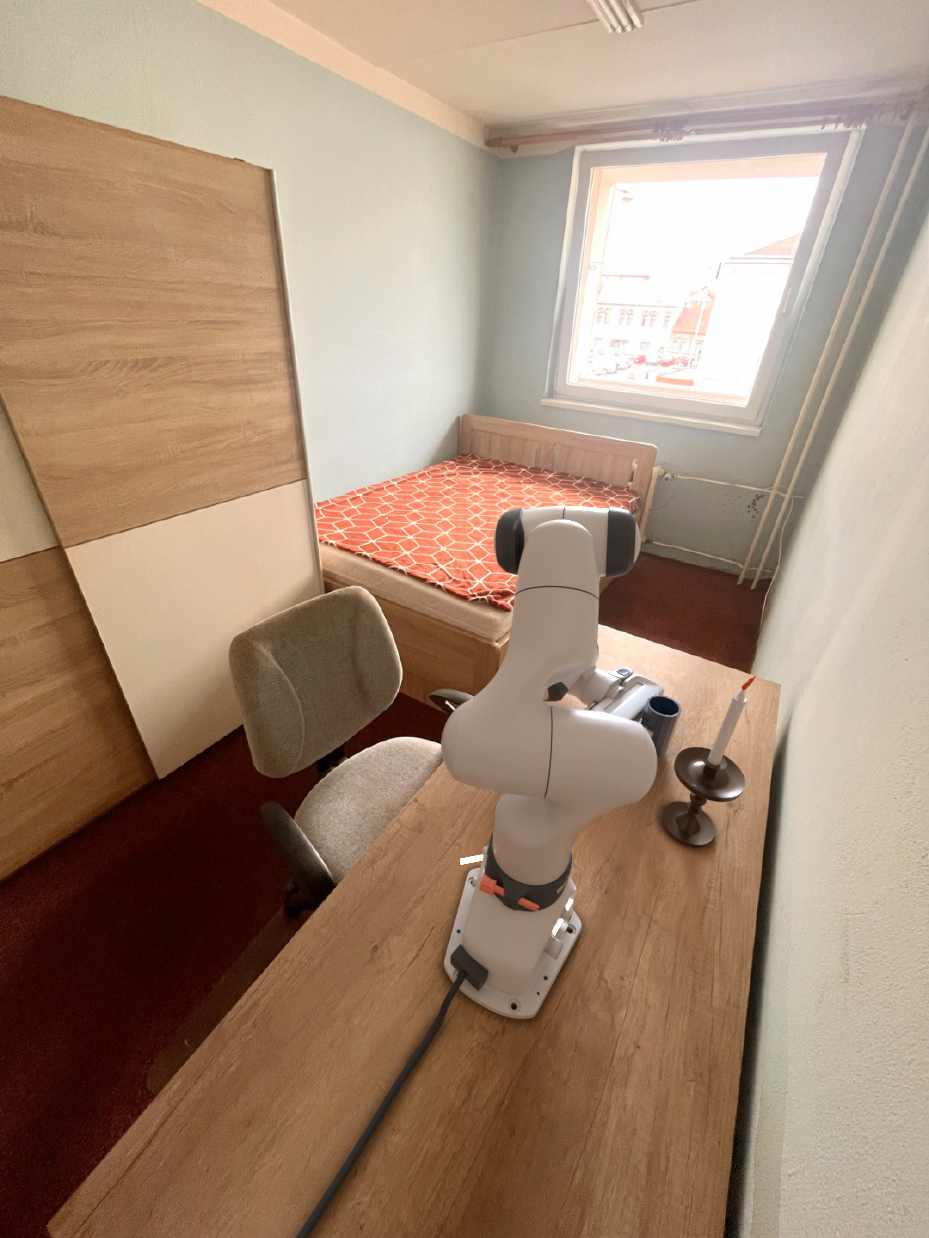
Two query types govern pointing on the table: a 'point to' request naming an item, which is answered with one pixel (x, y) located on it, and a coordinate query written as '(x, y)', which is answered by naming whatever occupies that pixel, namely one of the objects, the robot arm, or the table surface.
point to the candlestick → (705, 782)
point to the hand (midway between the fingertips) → (662, 725)
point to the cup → (661, 720)
